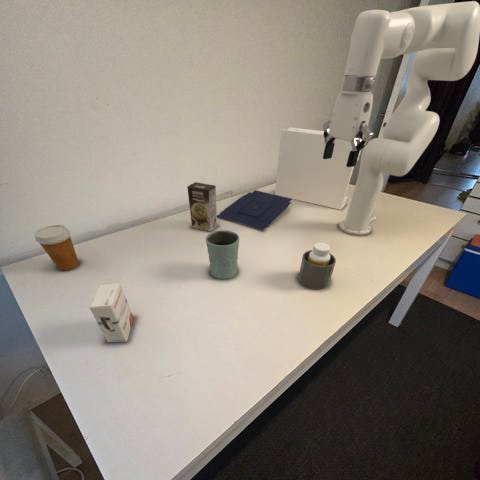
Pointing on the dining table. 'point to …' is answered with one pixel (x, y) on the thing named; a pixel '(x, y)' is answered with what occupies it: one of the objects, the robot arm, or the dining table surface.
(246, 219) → the folded navy cloth
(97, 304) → the ink box
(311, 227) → the dining table surface
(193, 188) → the coffee box
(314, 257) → the pill bottle
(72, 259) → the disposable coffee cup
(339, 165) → the block
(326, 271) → the steel cup
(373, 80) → the robot arm
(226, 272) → the teal cup
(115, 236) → the dining table surface
